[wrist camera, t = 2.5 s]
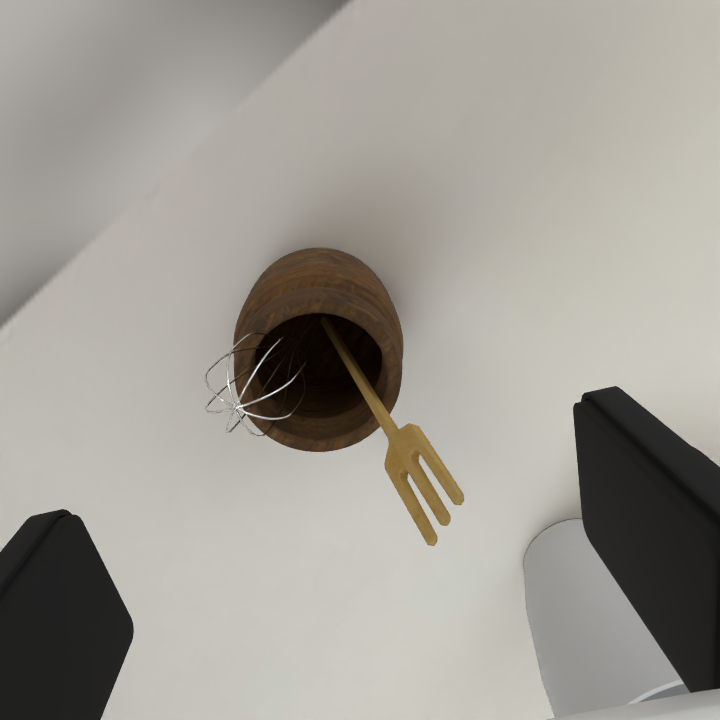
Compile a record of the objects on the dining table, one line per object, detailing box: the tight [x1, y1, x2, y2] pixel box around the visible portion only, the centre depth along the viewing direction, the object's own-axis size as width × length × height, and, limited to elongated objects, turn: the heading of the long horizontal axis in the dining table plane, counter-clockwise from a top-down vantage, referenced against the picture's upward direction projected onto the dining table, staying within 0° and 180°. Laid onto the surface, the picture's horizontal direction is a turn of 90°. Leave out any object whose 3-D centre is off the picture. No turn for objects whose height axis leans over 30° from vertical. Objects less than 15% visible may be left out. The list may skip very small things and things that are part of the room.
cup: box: [524, 519, 690, 718], centre depth 24 cm, size 8×8×10 cm
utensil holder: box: [205, 248, 464, 546], centre depth 17 cm, size 6×6×12 cm
